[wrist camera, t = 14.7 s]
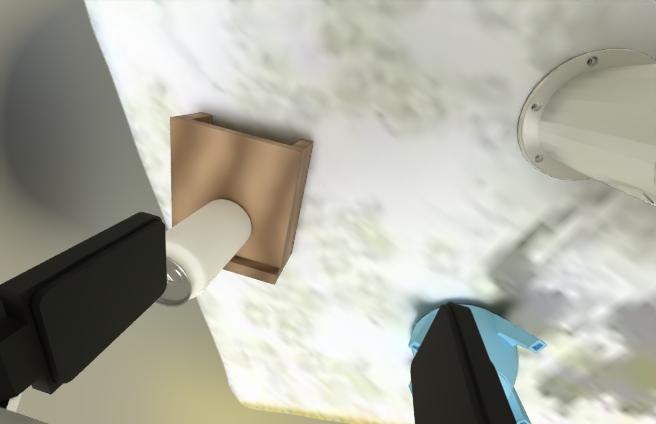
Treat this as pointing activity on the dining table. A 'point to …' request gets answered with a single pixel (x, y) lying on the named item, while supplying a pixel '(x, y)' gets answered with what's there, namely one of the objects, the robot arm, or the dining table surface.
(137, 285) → the robot arm
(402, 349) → the dining table surface
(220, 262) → the can
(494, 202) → the dining table surface
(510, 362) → the teapot
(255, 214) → the shelf
